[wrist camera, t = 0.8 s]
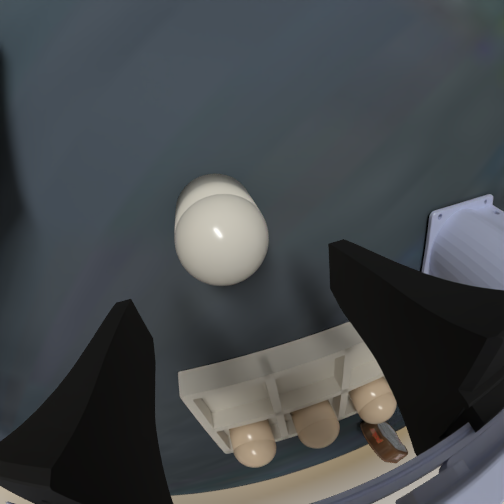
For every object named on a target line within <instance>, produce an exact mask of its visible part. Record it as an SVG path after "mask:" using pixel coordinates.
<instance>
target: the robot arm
mask: <svg viewBox="0 0 504 504" xmlns="http://www.w3.org/2000/svg"><path fill="white" fill-rule="evenodd" d="M492 203H493V196H492V195H490V194H488V195H485V196H481V197H478V198H475V199H471V200H468V201H465V202H462V203H458V204H455V205H452V206H448V207H445V208H442V209H438V210H435V211H433V212H431V214H430V216H429V223H428V232H427V239H426V247H425V253H424V260H423V266H422V271H421V272H420V271H417V270H414V269H412V268H409V267H407V266H404V265H402V264H399V263H397V262H394V261H392V260H390V259H388V258H385V257H383V256H381V255H379V254H376V253H374V252H372V251H370V250H368V249H365V248H363V247H361V246H359V245H356V244H354V243H352V242H349V241H347V240H344V239H343V240H340V241H336V242H333V243H330V244H328V245H329V266H330V289H331V291H332V293H333V295H334V297H335V298H336V300H337V302H338V304H339V306H340V308H341V310H342V311H343V313H344V314H345V316H346V317H347V318H348V320H349V321H350V323H351V324H352V326H353V327H354V328H355V330H356V331H357V333H358V334H359V335H360V337H361V338H362V340H363V341H364V343H365V344H366V345H367V347H368V348H369V350H370V351H371V353H372V354H373V356H374V358H375V359H376V361H377V363H378V365H379V367H380V368H381V370H382V372H383V374H384V376H385V378H386V380H387V382H388V384H389V387H390V389H391V391H392V393H393V395H394V397H395V400H396V402H397V404H398V407H399V409H400V412H401V414H402V417H403V419H404V422H405V424H406V427H407V430H408V433H409V436H410V439H411V442H412V445H413V448H414V451H415V453H416V455H417V457H415V458H413V459H412V460H410V461H408V462H406V463H404V464H403V465H401V466H399V467H397V468H395V469H393V470H391V471H389V472H387V473H385V474H383V475H381V476H379V477H377V478H375V479H373V480H370V481H368V482H366V483H364V484H361V485H359V486H357V487H354V488H352V489H350V490H347V491H345V492H342V493H339V494H337V495H334V496H331V497H329V498H326V499H323V500H320V501H317V502H314V503H311V504H372V503H374V502H376V501H378V500H380V499H382V498H385V497H386V496H389V495H390V494H392V493H394V492H396V491H398V490H400V489H402V488H404V487H406V486H408V485H409V484H411V483H413V482H415V481H416V480H418V479H420V478H422V477H423V476H425V475H426V474H428V473H430V472H431V471H433V470H434V469H436V468H437V467H439V466H441V467H440V469H439V474H438V475H436V476H435V477H433V478H432V479H430V480H429V481H427V482H425V483H424V484H422V485H420V486H419V487H417V488H415V489H414V490H413V491H411V492H410V493H408V494H406V495H405V496H403V497H401V498H399V499H398V500H396V504H501V503H502V502H503V501H504V212H503V211H502V210H500V209H498V208H497V207H495V206H493V205H492ZM0 486H2V487H3V488H5V489H7V490H9V491H10V492H12V493H14V494H16V495H18V496H20V497H22V498H24V499H26V500H28V501H30V502H32V503H35V504H173V502H172V499H171V496H170V492H169V489H168V485H167V482H166V478H165V474H164V470H163V465H162V461H161V456H160V451H159V445H158V439H157V432H156V424H155V353H154V343H153V337H152V336H151V334H150V332H149V331H148V329H147V327H146V325H145V324H144V322H143V320H142V318H141V316H140V315H139V313H138V311H137V309H136V307H135V305H134V304H133V302H132V300H131V299H129V300H125V301H121V302H117V303H116V304H115V305H114V306H113V308H112V309H111V311H110V312H109V313H108V315H107V316H106V318H105V320H104V321H103V323H102V324H101V326H100V327H99V329H98V330H97V332H96V334H95V335H94V337H93V338H92V340H91V341H90V343H89V344H88V346H87V347H86V349H85V350H84V352H83V353H82V355H81V356H80V358H79V359H78V361H77V362H76V364H75V365H74V367H73V368H72V369H71V371H70V372H69V373H68V375H67V376H66V377H65V379H64V380H63V381H62V382H61V384H60V385H59V386H58V387H57V389H56V390H55V391H54V392H53V393H52V394H51V395H50V396H49V397H48V399H47V400H46V401H45V402H44V403H43V404H42V405H41V406H40V407H39V408H38V410H37V411H36V412H34V413H33V414H32V415H31V416H30V417H29V418H28V419H27V420H26V421H25V422H24V423H23V424H22V425H21V426H19V427H18V428H17V429H16V430H15V431H13V432H12V433H11V434H10V435H8V436H7V437H6V438H4V439H3V440H2V441H1V442H0ZM6 504H14V503H11V502H6Z"/></svg>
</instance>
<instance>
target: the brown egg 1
mask: <svg viewBox="0 0 504 504" xmlns="http://www.w3.org/2000/svg"><path fill="white" fill-rule="evenodd" d="M229 434H230V439H231V443H232V448H233V452H234V455H235V457H236V459H237V460H238V461H239V462H240V463H242V464H243V465H245V466H248V467H261V466H264V465H266V464H268V463H269V462H270V461H271V460H272V459H273V457H274V456H275V453H276V443H275V439H274V436H273V433H272V430H271V427H270V423H269V420H268V419H266V420H263V421H259V422H255V423H251V424H247V425H243V426H239V427H235V428H231V429H229Z"/></svg>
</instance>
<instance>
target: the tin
mask: <svg viewBox="0 0 504 504" xmlns="http://www.w3.org/2000/svg"><path fill="white" fill-rule="evenodd" d="M360 427H361V430H362V433H363V435H364V437H365V438H366V440H367V442H368V443H369V445H370V446H371V448H372V449H373V450H374V452H375V453H376V454H377V455H378V456H379V457H380V458H381V459H382V460H383V461H385V462H390V463H397V462H398V461H400V460H401V459H403V458H404V457H405V456H406V455H407V454H408V451H407V449H406V447H405V446H404V445H403V444H402V442H401V441H400V439H399V438H398V436H397V433H396V432H395V431H394V429H393V428H392V427H391V426H390V425H389V424H388V423H387V422H383V423H380V424H370V423H367V422H365V421H364V422H362V423H361V424H360Z"/></svg>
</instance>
